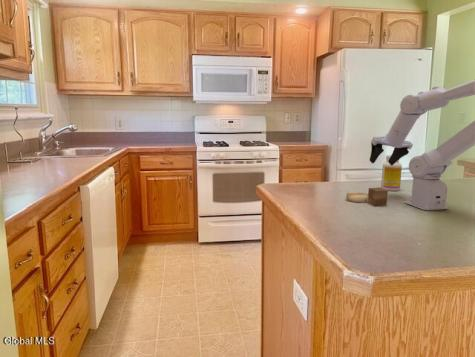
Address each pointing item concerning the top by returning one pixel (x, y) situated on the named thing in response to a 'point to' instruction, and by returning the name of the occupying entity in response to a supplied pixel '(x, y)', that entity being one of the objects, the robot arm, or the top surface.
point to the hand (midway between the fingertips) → (380, 162)
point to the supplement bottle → (391, 175)
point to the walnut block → (377, 196)
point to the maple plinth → (357, 197)
